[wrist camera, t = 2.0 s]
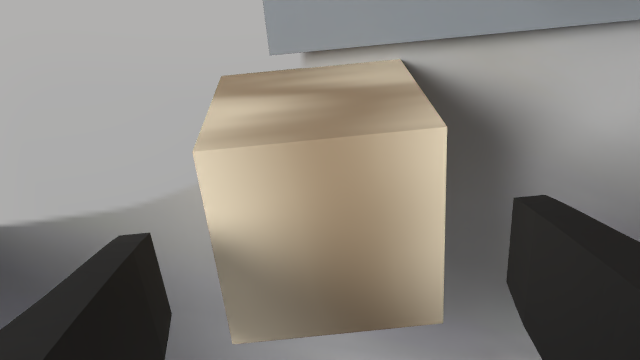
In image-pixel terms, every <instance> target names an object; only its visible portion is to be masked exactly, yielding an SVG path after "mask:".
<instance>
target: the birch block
mask: <svg viewBox="0 0 640 360" xmlns="http://www.w3.org/2000/svg"><path fill="white" fill-rule="evenodd" d="M193 157H194V162H195V166H196V171H197V176H198V181H199V186H200V190H201V195H202V200H203V205H204V210H205V214H206V219H207V224H208V229H209V234H210V238H211V243H212V248H213V253H214V258H215V262H216V267H217V272H218V277H219V282H220V286H221V291H222V296H223V301H224V306H225V310H226V315H227V320H228V325H229V330H230V334H231V339H232V344H242V343H252V342H262V341H272V340H282V339H292V338H302V337H312V336H322V335H332V334H341V333H351V332H361V331H371V330H381V329H391V328H401V327H411V326H421V325H431V324H441V323H443V300H444V253H445V206H446V159H447V126H446V124H445V123H444V122H443V120H442V119H441V117H440V116H439V114H438V113H437V111H436V110H435V109H434V107H433V106H432V104H431V103H430V101H429V100H428V99H427V97H426V96H425V94H424V93H423V91H422V90H421V88H420V87H419V86H418V84H417V83H416V81H415V80H414V78H413V77H412V76H411V74H410V73H409V71H408V70H407V68H406V67H405V65H404V64H403V63H402V61H401V60H400V59H397V60H387V61H376V62H366V63H356V64H346V65H335V66H325V67H315V68H305V69H303V68H297V69H287V70H276V71H266V72H257V73H246V74H236V75H225V76H221V78H220V81H219V83H218V86H217V89H216V91H215V94H214V97H213V99H212V102H211V104H210V107H209V110H208V112H207V115H206V118H205V120H204V123H203V125H202V128H201V131H200V133H199V136H198V139H197V142H196V144H195V147H194V149H193Z"/></svg>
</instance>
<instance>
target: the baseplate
mask: <svg viewBox="0 0 640 360" xmlns="http://www.w3.org/2000/svg"><path fill="white" fill-rule="evenodd" d="M263 5H264V14H265V22H266V29H267V37H268V45H269V53H270V55H279V54H289V53H298V52H299V53H300V52H310V51H321V50H331V49H341V48H351V47H362V46H372V45H382V44H393V43H403V42H413V41H424V40H434V39H444V38H454V37H465V36H475V35H485V34H496V33H506V32H516V31H527V30H537V29H547V28H557V27H568V26H578V25H588V24H599V23H609V22H619V21H630V20H640V0H263Z"/></svg>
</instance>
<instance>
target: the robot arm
mask: <svg viewBox="0 0 640 360" xmlns="http://www.w3.org/2000/svg"><path fill="white" fill-rule="evenodd" d="M507 284H508V287H509V290H510V292H511V295H512V298H513V300H514V303H515V306H516V308H517V310H518V313H519V315H520V318H521V320H522V323H523V325H524V327H525V329H526V331H527V332H528V334H529V336H530V338H531V340H532V342H533V343H534V345H535V347H536V349H537V351H538V352H539V354H540V356H541V358H542V360H640V242H638V241H636V240H634V239H632V238H630V237H628V236H626V235H624V234H622V233H620V232H618V231H616V230H614V229H613V228H611V227H609V226H607V225H605V224H603V223H601V222H599V221H597V220H595V219H593V218H591V217H589V216H588V215H586V214H584V213H582V212H580V211H578V210H576V209H574V208H572V207H570V206H568V205H566V204H564V203H562V202H560V201H558V200H556V199H553V198H551V197H549V196H546V195H539V196H529V197H518V198H514V201H513V212H512V224H511V236H510V247H509V259H508V271H507ZM171 314H172V313H171V310H170V306H169V302H168V298H167V295H166V291H165V287H164V283H163V280H162V276H161V272H160V268H159V265H158V261H157V257H156V253H155V250H154V246H153V242H152V238H151V235H150V233H142V234H132V235H122V236H118V237H117V238H115V239H114V240H112V241H111V242H110V243H109V244H107V245H106V246H105V247H103V248H102V249H101V250H100V251H99V252H97V253H96V254H95V255H94V256H92V257H91V258H90V259H89V260H88V261H87V262H85V263H84V264H83V265H82V266H81V267H79V268H78V269H77V270H76V271H75V272H73V273H72V274H71V275H70V276H69V277H67V278H66V279H65V280H64V281H62V282H61V283H60V284H59V285H58V286H56V287H55V288H54V289H53V290H52V291H50V292H49V293H48V294H47V295H46V296H44V297H43V298H42V299H40V300H39V301H38V302H36V303H35V304H34V305H33V306H31V307H30V308H29V309H27V310H26V311H25V312H23V313H22V314H21V315H19V316H18V317H17V318H16V319H14V320H13V321H12V322H10V323H9V324H8V325H6V326H5V327H4V328H2V329H1V330H0V360H164V359H165V353H166V347H167V341H168V335H169V328H170V321H171Z"/></svg>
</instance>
